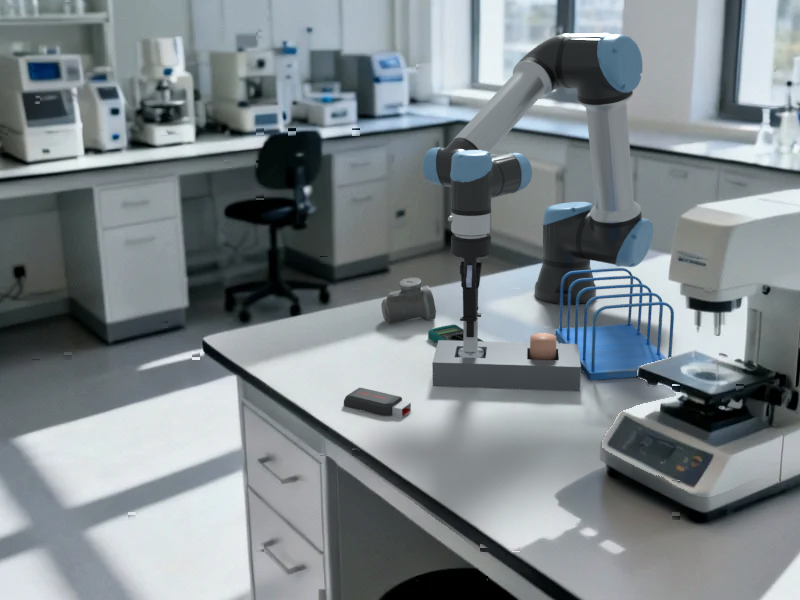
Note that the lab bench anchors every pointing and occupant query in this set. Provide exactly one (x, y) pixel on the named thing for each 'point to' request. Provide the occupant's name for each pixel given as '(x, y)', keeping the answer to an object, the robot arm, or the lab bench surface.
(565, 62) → the robot arm
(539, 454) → the lab bench surface
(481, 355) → the steel plunger
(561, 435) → the lab bench surface
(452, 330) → the digital multimeter
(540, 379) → the block
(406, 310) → the pipe fitting
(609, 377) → the file sorter
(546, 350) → the peach rounded dome part
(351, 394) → the usb drive
